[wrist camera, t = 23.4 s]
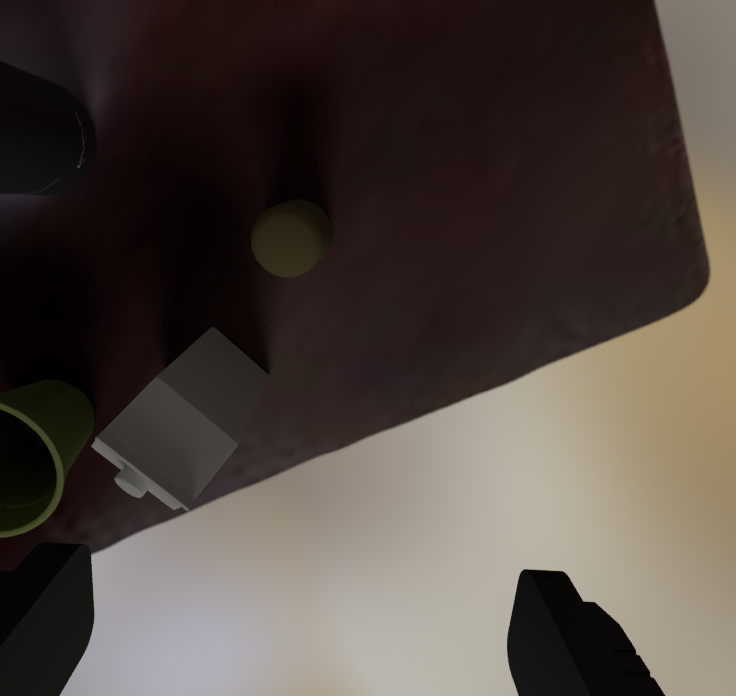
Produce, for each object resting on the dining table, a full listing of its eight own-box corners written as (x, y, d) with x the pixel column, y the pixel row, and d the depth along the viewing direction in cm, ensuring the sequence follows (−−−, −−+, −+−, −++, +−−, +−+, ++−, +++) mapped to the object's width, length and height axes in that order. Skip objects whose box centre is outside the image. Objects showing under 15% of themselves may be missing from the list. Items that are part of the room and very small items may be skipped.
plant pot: (67, 490, 53) (-5, 565, 42) (-30, 409, 51) (-134, 466, 40) (148, 417, 51) (94, 475, 41) (51, 329, 49) (-34, 366, 38)
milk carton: (213, 325, 49) (132, 397, 31) (270, 375, 51) (225, 473, 32) (164, 377, 50) (59, 477, 32) (221, 424, 52) (152, 546, 34)
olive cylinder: (280, 187, 46) (259, 182, 35) (343, 216, 47) (341, 220, 36) (255, 251, 47) (228, 265, 37) (317, 278, 48) (308, 299, 38)
